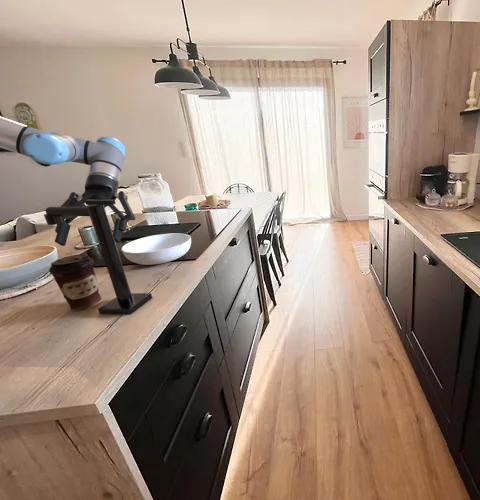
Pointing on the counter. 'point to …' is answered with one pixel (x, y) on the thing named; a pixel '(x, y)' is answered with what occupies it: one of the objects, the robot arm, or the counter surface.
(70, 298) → the coffee cup
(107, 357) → the counter surface
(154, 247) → the serving bowl
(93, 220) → the tap
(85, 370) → the counter surface
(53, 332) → the counter surface
